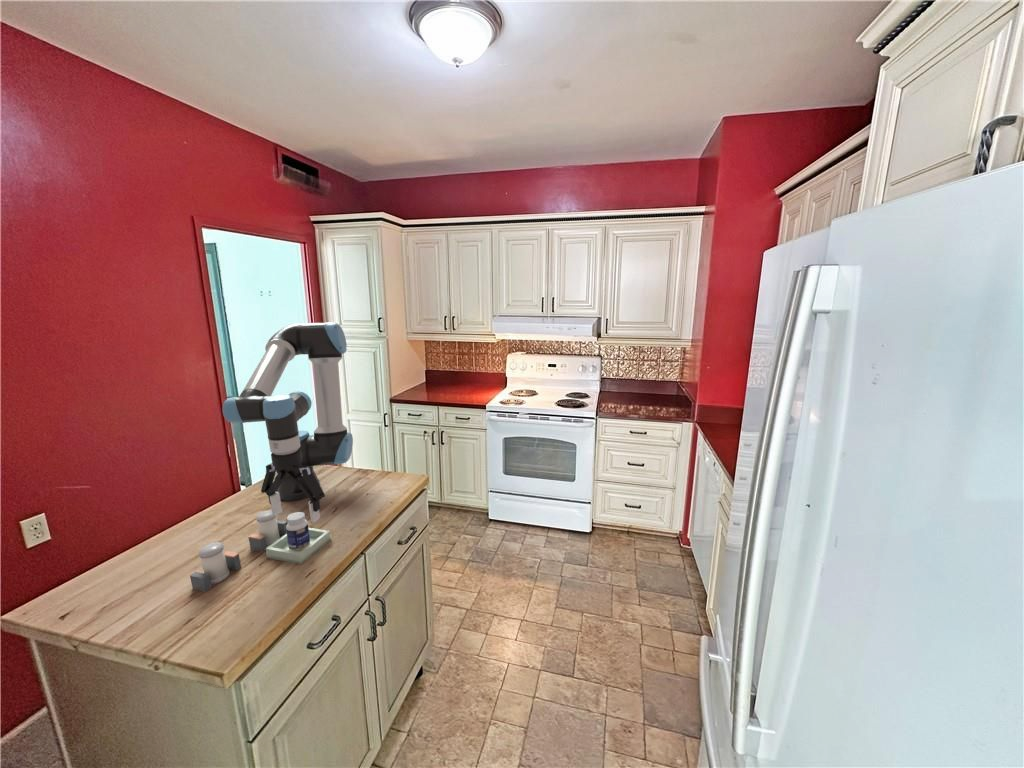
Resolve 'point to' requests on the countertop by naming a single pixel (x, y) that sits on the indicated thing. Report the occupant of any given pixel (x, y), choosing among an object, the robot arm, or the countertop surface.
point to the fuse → (268, 526)
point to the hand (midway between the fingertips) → (296, 517)
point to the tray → (283, 553)
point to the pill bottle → (297, 531)
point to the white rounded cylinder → (214, 562)
